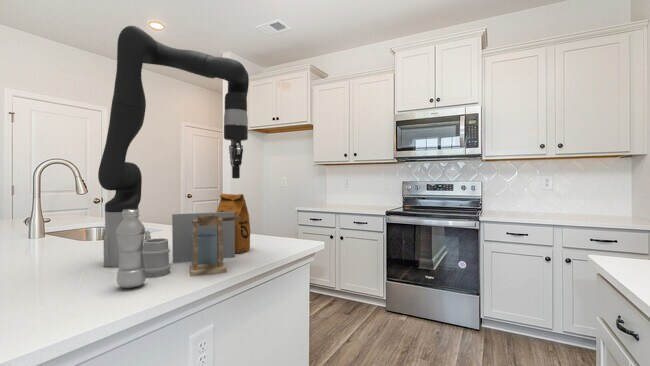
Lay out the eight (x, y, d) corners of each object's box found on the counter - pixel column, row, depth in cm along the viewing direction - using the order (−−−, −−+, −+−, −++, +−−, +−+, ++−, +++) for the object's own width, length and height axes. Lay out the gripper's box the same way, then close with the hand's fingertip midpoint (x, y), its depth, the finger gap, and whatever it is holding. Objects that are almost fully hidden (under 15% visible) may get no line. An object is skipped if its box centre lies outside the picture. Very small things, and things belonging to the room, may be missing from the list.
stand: (190, 276, 92) (189, 222, 91) (189, 269, 98) (189, 219, 98) (226, 272, 96) (226, 220, 95) (223, 266, 102) (223, 217, 102)
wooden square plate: (199, 225, 90) (199, 216, 90) (197, 221, 102) (197, 213, 102) (246, 223, 95) (246, 214, 95) (239, 219, 107) (239, 211, 107)
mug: (148, 279, 89) (147, 236, 89) (131, 271, 96) (130, 231, 96) (175, 273, 95) (175, 232, 95) (157, 266, 102) (157, 228, 102)
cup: (191, 268, 100) (191, 238, 100) (191, 261, 108) (191, 234, 108) (220, 265, 103) (220, 236, 103) (218, 258, 111) (218, 232, 111)
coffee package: (236, 255, 116) (236, 194, 116) (212, 251, 122) (211, 193, 122) (254, 250, 125) (254, 193, 124) (231, 246, 131) (231, 192, 130)
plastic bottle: (125, 293, 78) (124, 211, 78) (111, 288, 82) (110, 210, 82) (151, 285, 84) (150, 209, 83) (137, 281, 87) (136, 207, 87)
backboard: (172, 262, 106) (172, 214, 106) (172, 261, 107) (172, 214, 107) (234, 256, 114) (234, 211, 114) (234, 256, 115) (234, 211, 115)
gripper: (221, 127, 109) (221, 178, 109) (226, 121, 97) (226, 178, 97) (244, 128, 112) (244, 178, 112) (251, 123, 100) (251, 178, 100)
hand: (235, 178), depth 105 cm, fingers closed
